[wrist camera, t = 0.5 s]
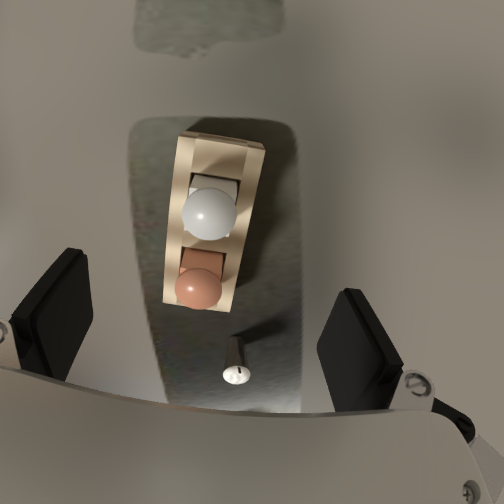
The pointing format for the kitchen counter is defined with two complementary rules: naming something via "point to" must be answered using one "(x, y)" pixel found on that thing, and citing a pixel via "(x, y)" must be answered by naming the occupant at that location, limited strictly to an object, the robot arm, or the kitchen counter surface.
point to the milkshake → (236, 361)
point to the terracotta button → (199, 278)
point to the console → (246, 176)
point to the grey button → (210, 207)
